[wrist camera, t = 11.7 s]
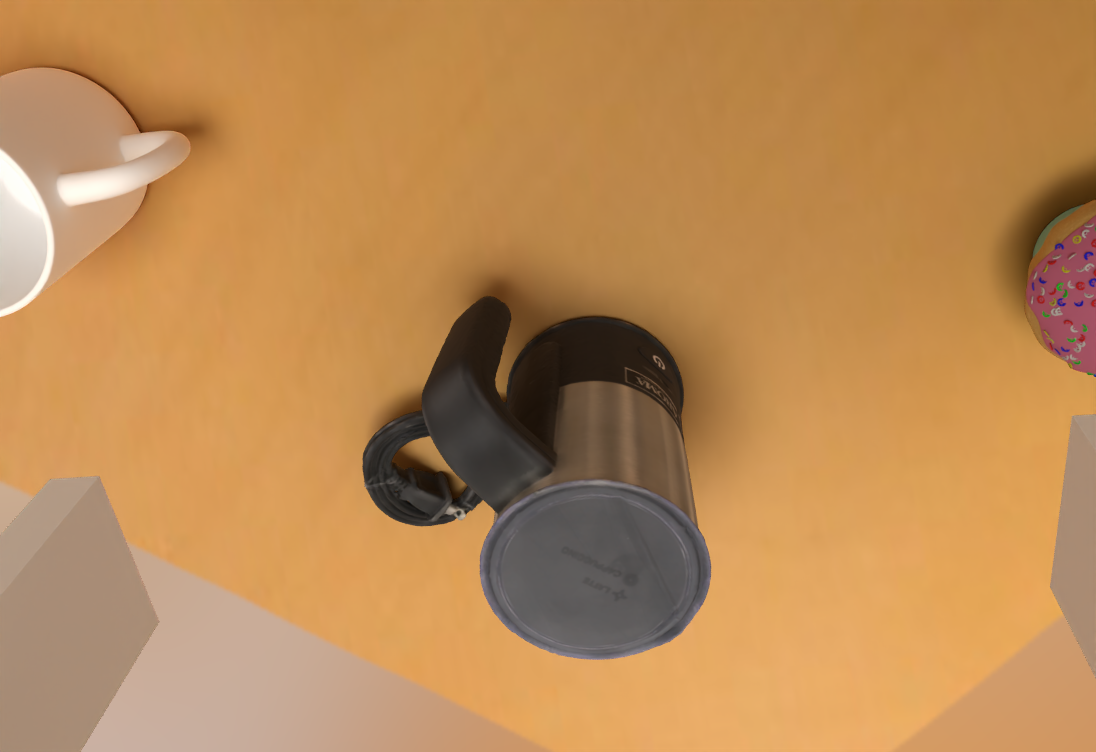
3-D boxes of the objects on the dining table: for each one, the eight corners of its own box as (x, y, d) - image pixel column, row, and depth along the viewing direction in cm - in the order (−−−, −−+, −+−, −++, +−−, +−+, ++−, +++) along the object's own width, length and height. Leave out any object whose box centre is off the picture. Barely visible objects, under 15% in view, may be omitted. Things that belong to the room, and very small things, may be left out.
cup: (-51, 81, 48) (-203, 138, 39) (191, 32, 46) (90, 79, 37) (25, 247, 51) (-98, 334, 42) (250, 206, 50) (172, 288, 41)
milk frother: (720, 366, 53) (758, 542, 39) (573, 577, 59) (563, 787, 46) (471, 238, 50) (423, 382, 37) (347, 474, 57) (270, 666, 44)
